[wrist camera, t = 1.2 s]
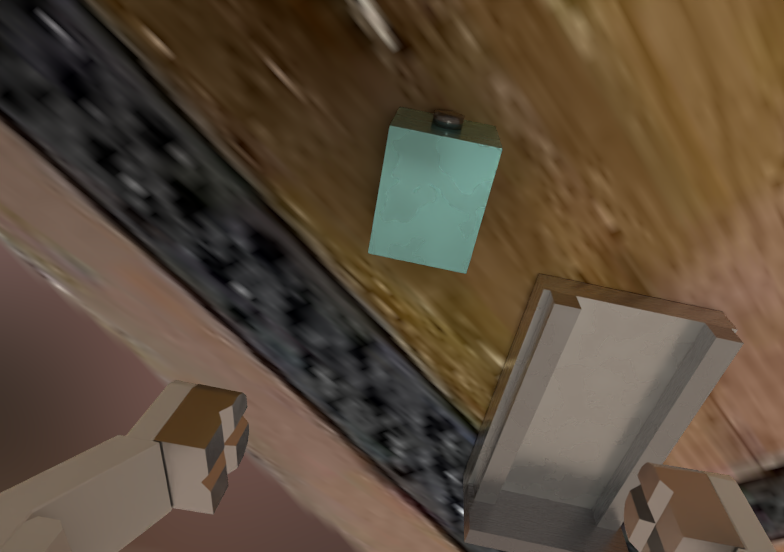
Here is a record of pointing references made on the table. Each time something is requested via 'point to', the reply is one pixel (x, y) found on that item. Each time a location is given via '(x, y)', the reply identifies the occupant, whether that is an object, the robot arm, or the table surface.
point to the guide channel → (587, 413)
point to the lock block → (434, 188)
